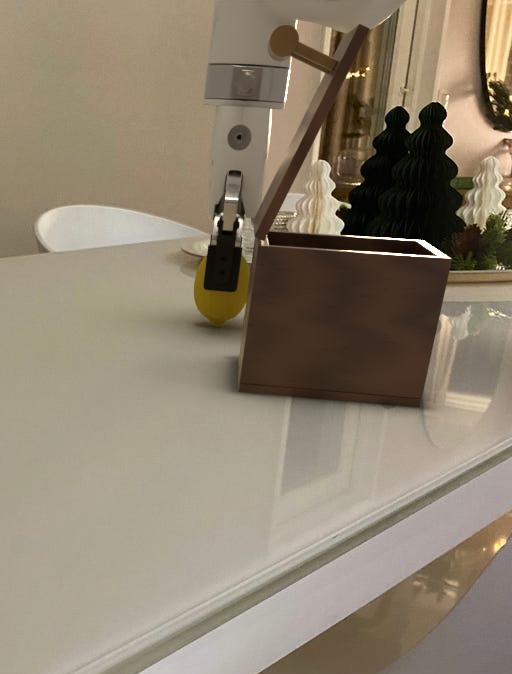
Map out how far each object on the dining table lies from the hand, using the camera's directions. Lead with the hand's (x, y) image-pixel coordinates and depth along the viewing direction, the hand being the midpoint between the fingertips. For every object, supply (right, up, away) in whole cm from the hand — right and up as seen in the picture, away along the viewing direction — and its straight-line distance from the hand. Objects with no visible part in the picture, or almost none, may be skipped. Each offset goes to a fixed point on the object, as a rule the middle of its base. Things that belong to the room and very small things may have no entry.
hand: (220, 283), depth 104 cm
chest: (+5, -15, -19) cm, 24 cm away
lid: (+2, +2, -26) cm, 26 cm away
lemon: (0, -4, +2) cm, 4 cm away
